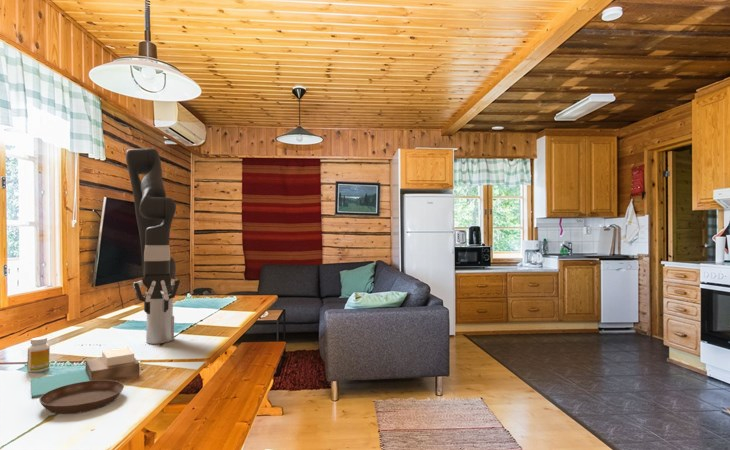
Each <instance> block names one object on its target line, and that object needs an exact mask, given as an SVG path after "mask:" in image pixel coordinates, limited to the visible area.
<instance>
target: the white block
mask: <svg viewBox="0 0 730 450" xmlns="http://www.w3.org/2000/svg"><path fill="white" fill-rule="evenodd" d="M101 357H102V359H103V361H104V363H105V364H106V366H112V365H118V364H124V363H129V362H134V358H135V353H134V352H133V351H132V350H131V349H130V347H122V348H115V349H107V350H102V355H101Z"/></svg>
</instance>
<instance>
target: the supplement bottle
mask: <svg viewBox="0 0 730 450" xmlns="http://www.w3.org/2000/svg"><path fill="white" fill-rule="evenodd" d="M30 344H31V345H29V346H28V348H27V363H26V364H27V367H26V368H27V372H28V373H39V372H44V371H47V370H49V368H50V350H51V349H50V344H48V337H46V336H39V337H38V336H37V337H33V338H31V339H30Z"/></svg>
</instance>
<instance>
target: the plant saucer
mask: <svg viewBox="0 0 730 450" xmlns="http://www.w3.org/2000/svg"><path fill="white" fill-rule="evenodd" d="M124 388H125V386H124V384H123V383H122V382H120V381H111V380H95V381H86V382H79V383H74V384H69V385H66V386H62V387H59V388H56V389H53V390H51V391H49V392H47V393H45V394H43V395H42V396H41V397H39V403H40V404H41V406H42V407H43V408H44V409H46V410H47V411H48V412H50V413H53V414H57V415H72V414H74V415H75V414H81V413H86V412H91V411H94V410H98V409H100V408H103V407H105V406H108V405H110V404H112V403H113V402H114V401H115V400H116V399H117V398H118V397H119V395H120V394H121V393H122V391H123V390H124Z"/></svg>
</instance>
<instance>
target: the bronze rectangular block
mask: <svg viewBox="0 0 730 450" xmlns="http://www.w3.org/2000/svg"><path fill="white" fill-rule="evenodd" d="M84 370H85V371H86V373H87V375H88V377H89V380H90V381H95V380H111V381H117V382H120V381H124V380H129V379H134V378H140V362H139V360H137V358H136V357H134V362H129V363H124V364H118V365H112V366H106V364H105V363H104V361H103V359H102V356H100V357H93V358H86V359H85V369H84Z"/></svg>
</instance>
